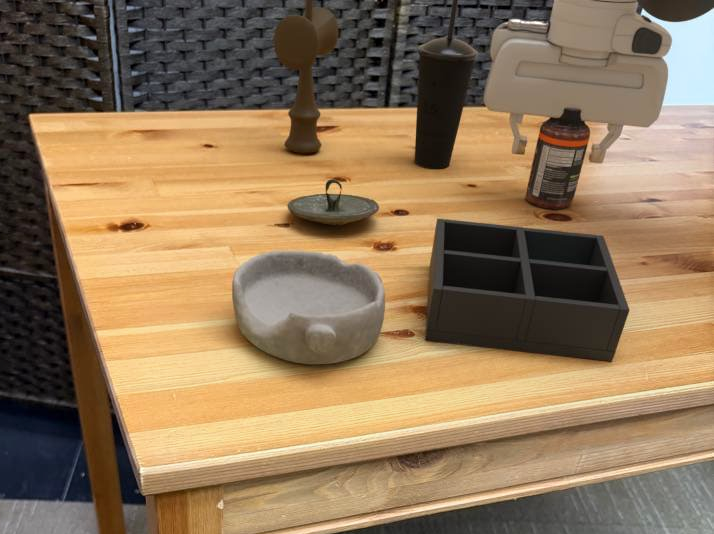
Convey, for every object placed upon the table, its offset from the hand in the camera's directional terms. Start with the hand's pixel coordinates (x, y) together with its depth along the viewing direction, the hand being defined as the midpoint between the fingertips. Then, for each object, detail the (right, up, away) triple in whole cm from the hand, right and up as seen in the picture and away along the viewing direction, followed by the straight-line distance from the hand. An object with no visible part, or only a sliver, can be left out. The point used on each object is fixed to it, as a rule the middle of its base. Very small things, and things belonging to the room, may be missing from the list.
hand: (556, 157), depth 99 cm
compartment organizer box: (-10, -24, -20) cm, 33 cm away
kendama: (-31, +7, +14) cm, 35 cm away
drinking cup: (-13, +5, +13) cm, 19 cm away
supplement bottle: (0, -4, +4) cm, 6 cm away
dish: (-30, -28, -25) cm, 48 cm away
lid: (-28, -10, -5) cm, 30 cm away
